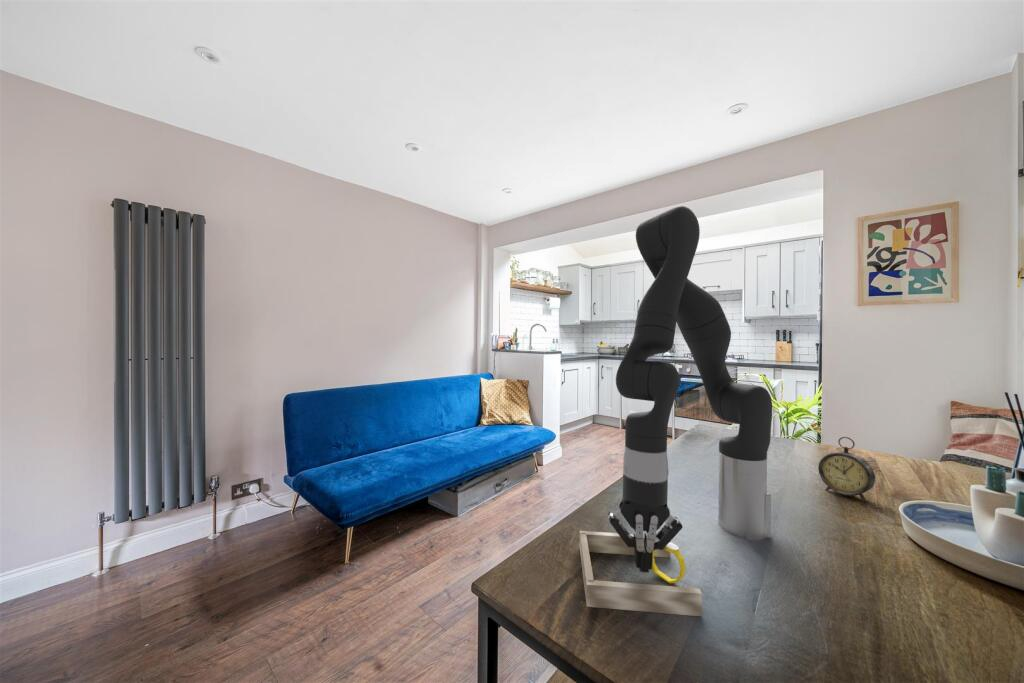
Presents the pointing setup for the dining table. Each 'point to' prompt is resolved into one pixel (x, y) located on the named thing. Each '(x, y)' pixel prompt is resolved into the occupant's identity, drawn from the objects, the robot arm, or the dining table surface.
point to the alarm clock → (846, 473)
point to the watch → (674, 549)
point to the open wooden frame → (631, 593)
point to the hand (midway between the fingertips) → (642, 569)
